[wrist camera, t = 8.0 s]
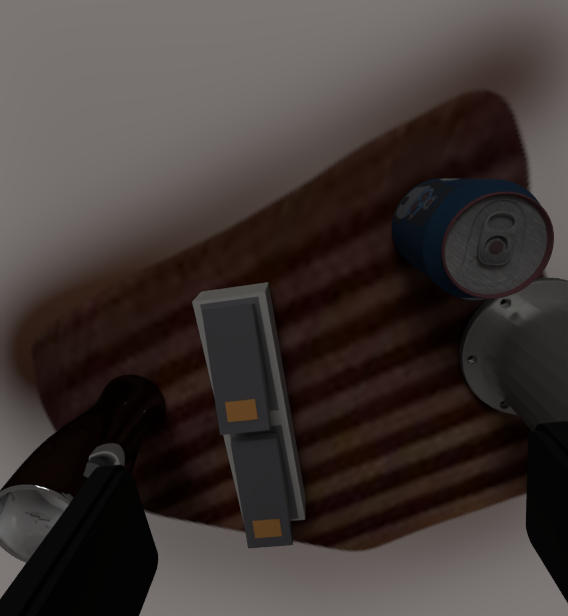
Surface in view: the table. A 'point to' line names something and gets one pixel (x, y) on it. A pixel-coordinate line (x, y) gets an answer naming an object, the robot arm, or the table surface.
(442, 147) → the table surface
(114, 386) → the beer glass
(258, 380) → the outlet rocker
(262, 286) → the power strip
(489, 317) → the robot arm
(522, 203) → the soda can
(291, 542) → the outlet rocker
